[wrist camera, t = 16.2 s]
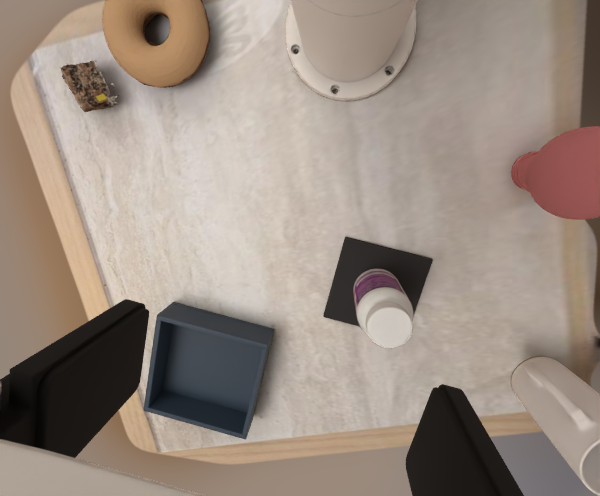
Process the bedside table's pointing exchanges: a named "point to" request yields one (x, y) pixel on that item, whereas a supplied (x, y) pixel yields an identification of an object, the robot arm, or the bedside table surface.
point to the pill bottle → (383, 308)
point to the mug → (563, 413)
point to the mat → (364, 258)
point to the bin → (206, 369)
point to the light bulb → (564, 174)
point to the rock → (88, 86)
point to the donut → (147, 56)
